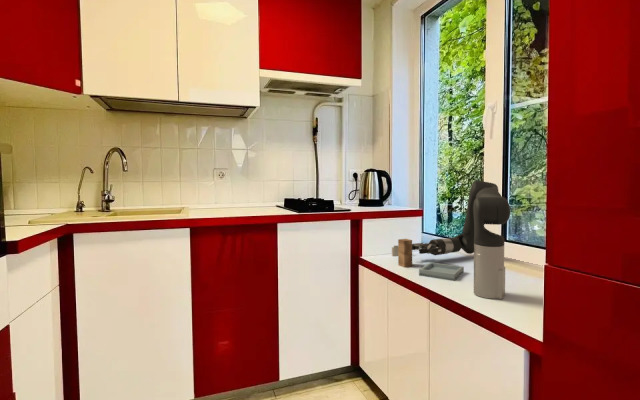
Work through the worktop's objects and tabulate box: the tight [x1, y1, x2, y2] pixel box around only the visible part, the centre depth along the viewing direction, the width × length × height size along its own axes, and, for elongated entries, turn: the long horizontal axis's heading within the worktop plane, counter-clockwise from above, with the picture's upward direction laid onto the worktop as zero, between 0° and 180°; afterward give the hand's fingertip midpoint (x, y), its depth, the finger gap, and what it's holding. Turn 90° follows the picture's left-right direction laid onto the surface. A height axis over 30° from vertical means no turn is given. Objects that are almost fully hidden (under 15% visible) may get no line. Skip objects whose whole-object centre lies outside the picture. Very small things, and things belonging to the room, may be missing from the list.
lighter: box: [391, 244, 398, 257], centre depth 179 cm, size 7×2×8 cm, turn 96°
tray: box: [418, 262, 465, 282], centre depth 144 cm, size 14×14×2 cm
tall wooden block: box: [397, 238, 413, 268], centre depth 158 cm, size 4×4×12 cm
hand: (413, 249), depth 160 cm, fingers open, 8 cm apart
